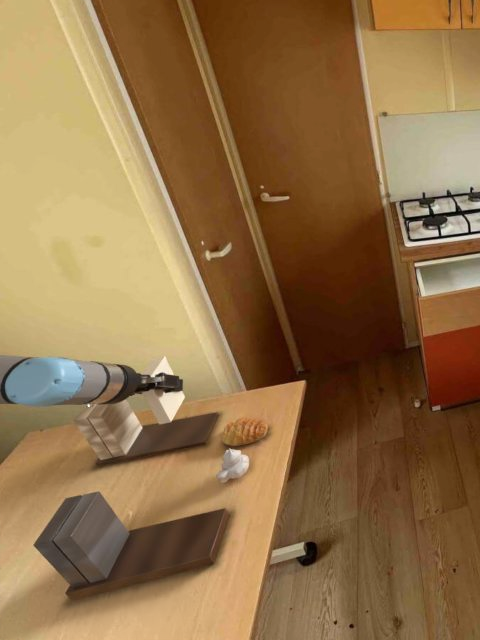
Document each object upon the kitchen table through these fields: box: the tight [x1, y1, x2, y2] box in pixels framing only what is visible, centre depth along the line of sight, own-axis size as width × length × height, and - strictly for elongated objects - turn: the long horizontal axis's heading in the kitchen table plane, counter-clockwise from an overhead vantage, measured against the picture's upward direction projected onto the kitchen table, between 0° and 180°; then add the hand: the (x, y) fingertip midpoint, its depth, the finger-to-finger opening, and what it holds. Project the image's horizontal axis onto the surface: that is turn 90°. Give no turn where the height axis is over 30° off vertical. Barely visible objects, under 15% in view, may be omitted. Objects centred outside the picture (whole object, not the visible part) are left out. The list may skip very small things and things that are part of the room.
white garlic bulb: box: [216, 447, 250, 483], centre depth 92 cm, size 5×7×8 cm
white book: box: [141, 356, 186, 424], centre depth 97 cm, size 2×8×13 cm, turn 15°
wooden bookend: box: [72, 399, 219, 467], centre depth 100 cm, size 22×9×14 cm, turn 105°
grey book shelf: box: [32, 490, 231, 602], centre depth 76 cm, size 22×9×16 cm, turn 105°
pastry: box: [221, 417, 268, 447], centre depth 103 cm, size 9×7×4 cm
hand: (173, 386), depth 102 cm, fingers closed on white book, 2 cm apart
